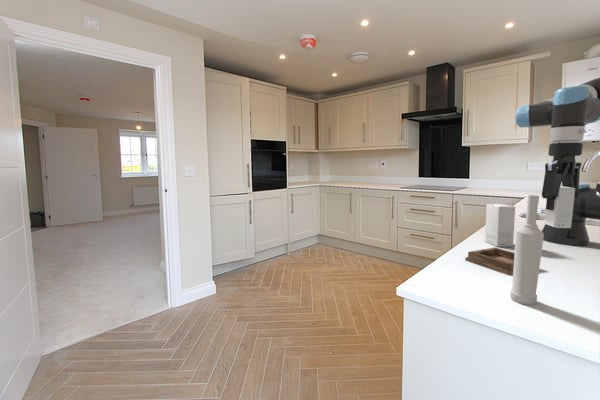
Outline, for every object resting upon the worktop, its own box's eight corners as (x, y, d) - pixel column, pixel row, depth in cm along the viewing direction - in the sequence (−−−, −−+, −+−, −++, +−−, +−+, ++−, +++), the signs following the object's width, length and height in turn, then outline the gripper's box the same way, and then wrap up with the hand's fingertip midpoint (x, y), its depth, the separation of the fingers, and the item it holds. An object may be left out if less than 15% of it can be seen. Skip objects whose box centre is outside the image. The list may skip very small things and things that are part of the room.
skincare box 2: (571, 228, 91) (576, 187, 89) (555, 228, 92) (559, 187, 90) (558, 224, 97) (562, 185, 95) (543, 223, 98) (547, 185, 96)
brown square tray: (493, 255, 107) (494, 246, 107) (538, 268, 95) (539, 258, 94) (465, 260, 102) (465, 251, 102) (507, 274, 89) (508, 264, 89)
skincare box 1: (513, 247, 117) (517, 206, 115) (495, 247, 117) (499, 206, 115) (499, 241, 126) (502, 203, 124) (483, 241, 126) (486, 203, 124)
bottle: (512, 293, 77) (522, 193, 74) (538, 300, 73) (549, 195, 70) (507, 300, 73) (517, 195, 70) (534, 307, 70) (546, 197, 66)
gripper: (560, 141, 83) (552, 225, 87) (600, 142, 91) (591, 218, 94) (531, 142, 90) (523, 220, 94) (570, 143, 98) (562, 214, 101)
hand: (557, 219), depth 94 cm, fingers closed on skincare box 2, 7 cm apart
